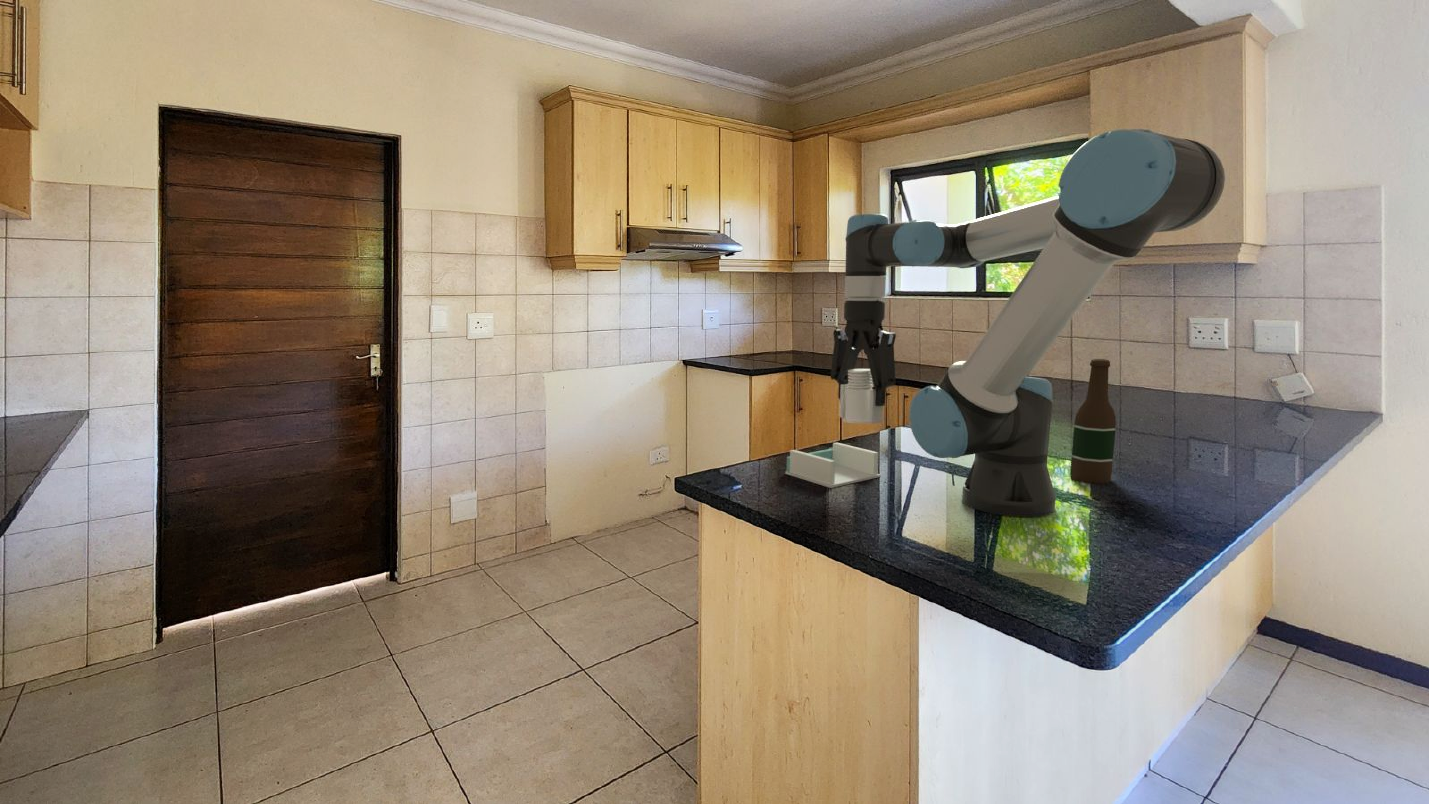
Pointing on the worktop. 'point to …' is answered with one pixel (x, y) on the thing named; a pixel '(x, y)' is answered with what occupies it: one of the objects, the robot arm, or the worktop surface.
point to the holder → (834, 465)
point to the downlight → (858, 396)
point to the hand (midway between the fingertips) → (860, 419)
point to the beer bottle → (1094, 430)
